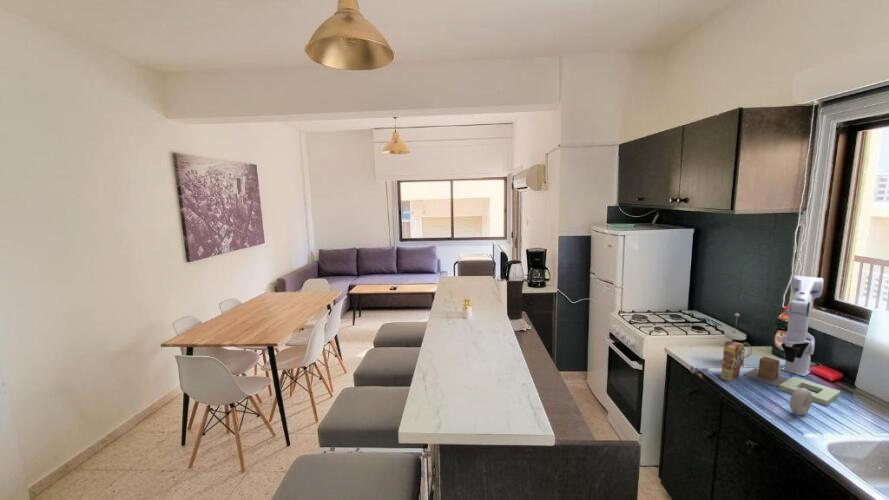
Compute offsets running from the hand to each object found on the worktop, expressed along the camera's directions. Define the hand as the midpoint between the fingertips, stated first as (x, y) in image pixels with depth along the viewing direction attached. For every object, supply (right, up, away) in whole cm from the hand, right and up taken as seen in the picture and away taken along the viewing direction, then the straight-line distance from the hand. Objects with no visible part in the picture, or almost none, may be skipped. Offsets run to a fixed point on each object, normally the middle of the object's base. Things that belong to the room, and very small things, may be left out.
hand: (793, 359), depth 152 cm
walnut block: (-6, -9, +5) cm, 12 cm away
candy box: (-22, -10, +7) cm, 25 cm away
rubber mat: (-6, -10, +6) cm, 13 cm away
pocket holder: (-1, -11, -7) cm, 13 cm away
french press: (-10, -8, +19) cm, 23 cm away
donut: (-18, -14, -21) cm, 31 cm away
